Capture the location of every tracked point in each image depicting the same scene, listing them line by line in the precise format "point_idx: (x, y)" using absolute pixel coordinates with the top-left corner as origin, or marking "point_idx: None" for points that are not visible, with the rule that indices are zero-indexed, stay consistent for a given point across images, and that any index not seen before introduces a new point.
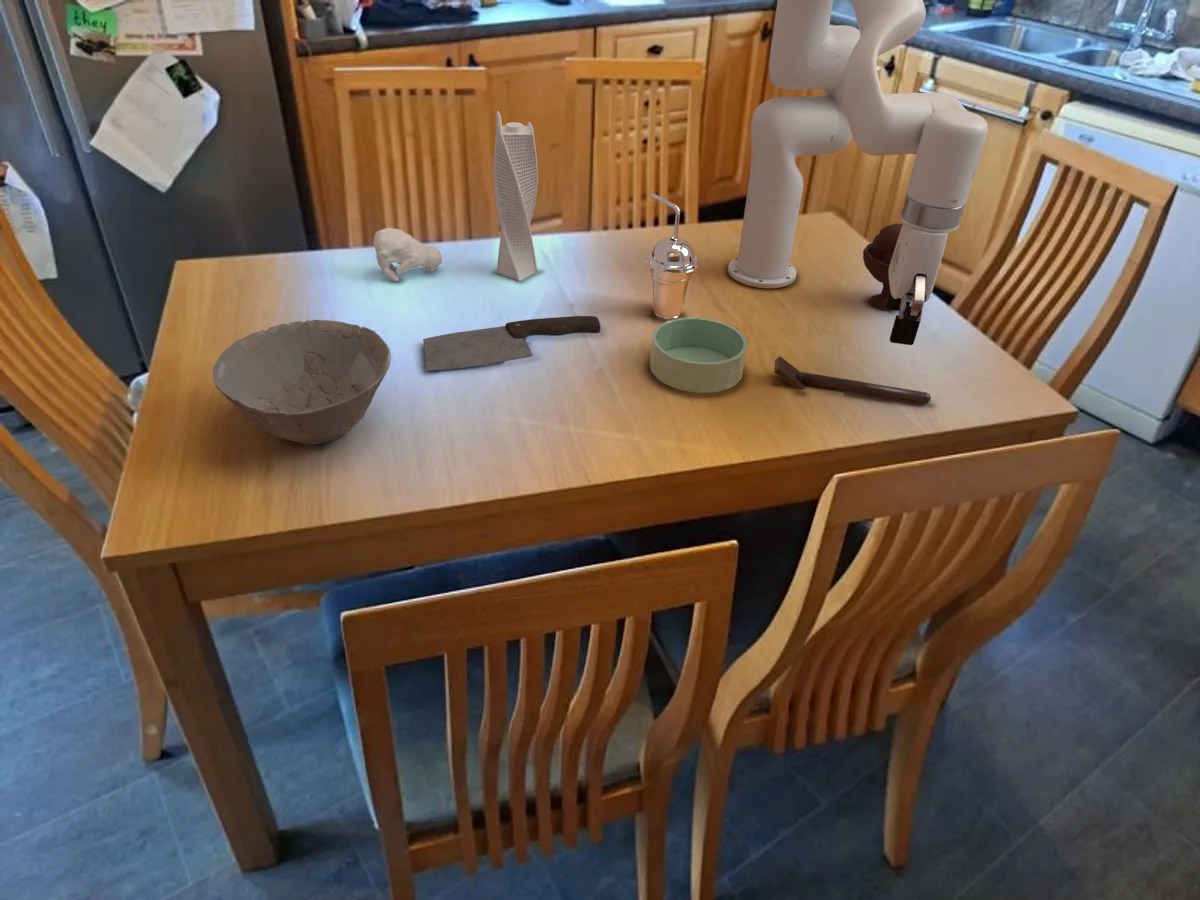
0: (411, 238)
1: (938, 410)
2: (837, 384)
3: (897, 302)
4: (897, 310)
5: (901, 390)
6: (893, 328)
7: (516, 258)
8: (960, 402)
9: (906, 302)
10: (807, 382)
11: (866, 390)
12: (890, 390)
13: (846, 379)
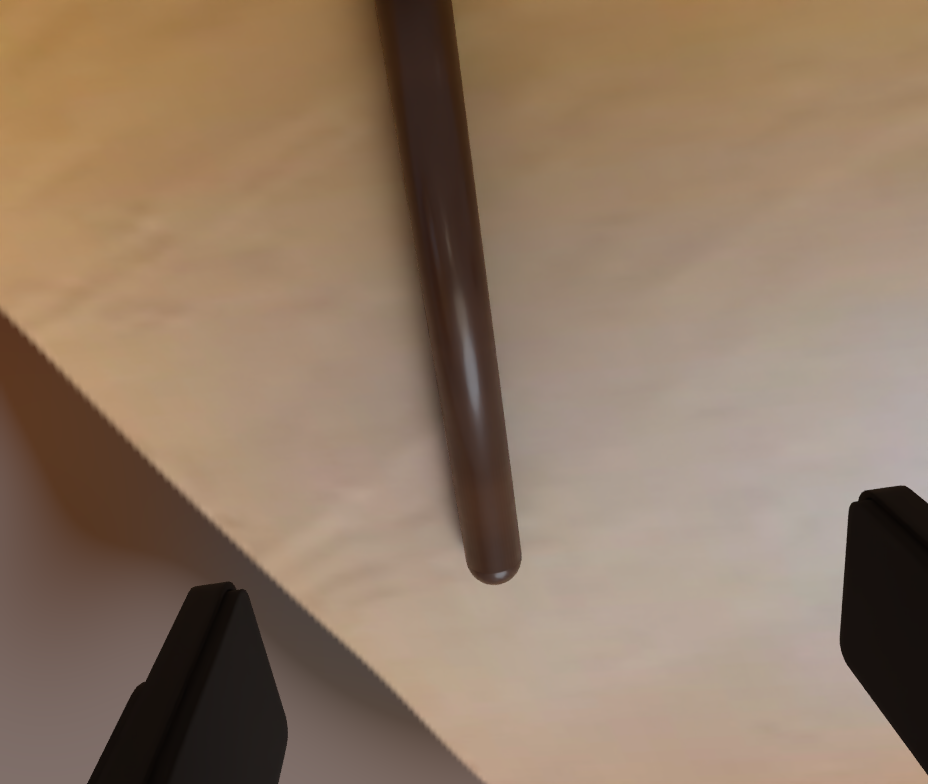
0: None
1: (460, 598)
2: (400, 147)
3: (893, 620)
4: (846, 580)
5: (471, 475)
6: (142, 689)
7: None
8: (560, 663)
9: (893, 701)
10: None
11: (427, 309)
12: (455, 426)
13: (450, 193)
